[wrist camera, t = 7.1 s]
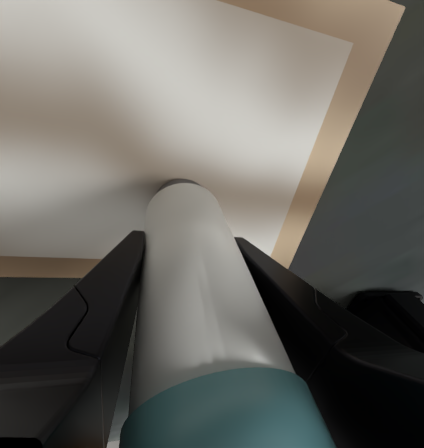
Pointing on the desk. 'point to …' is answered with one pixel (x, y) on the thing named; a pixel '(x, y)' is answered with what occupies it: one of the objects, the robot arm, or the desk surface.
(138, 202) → the clipboard
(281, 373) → the marker
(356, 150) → the desk surface
